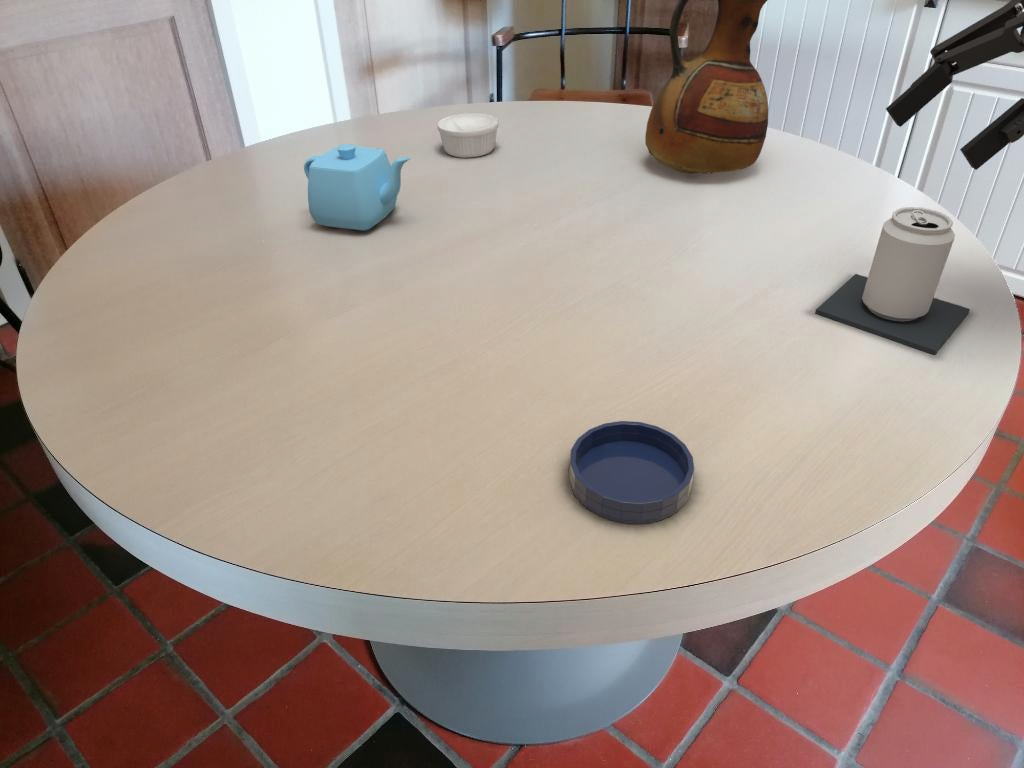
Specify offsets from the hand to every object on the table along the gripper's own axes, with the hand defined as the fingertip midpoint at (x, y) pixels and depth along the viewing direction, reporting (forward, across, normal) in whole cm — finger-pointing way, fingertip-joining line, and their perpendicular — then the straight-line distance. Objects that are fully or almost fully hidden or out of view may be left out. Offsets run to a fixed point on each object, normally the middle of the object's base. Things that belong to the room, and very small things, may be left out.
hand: (927, 137), depth 79 cm
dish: (+41, -24, +11) cm, 49 cm away
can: (+13, 0, -17) cm, 21 cm away
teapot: (+60, +40, +29) cm, 77 cm away
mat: (+14, 0, -17) cm, 22 cm away
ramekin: (+46, +69, +15) cm, 84 cm away
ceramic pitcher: (+18, +52, -13) cm, 57 cm away
